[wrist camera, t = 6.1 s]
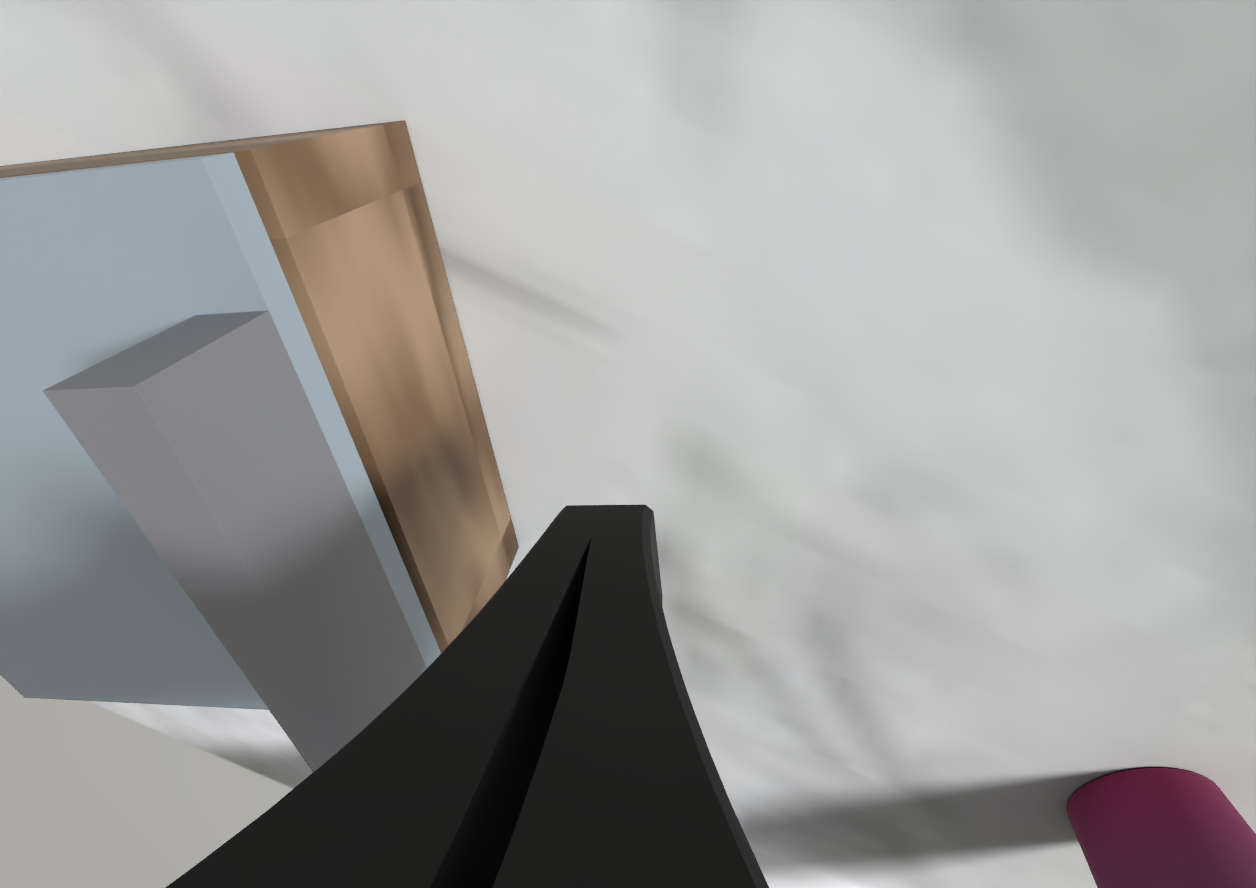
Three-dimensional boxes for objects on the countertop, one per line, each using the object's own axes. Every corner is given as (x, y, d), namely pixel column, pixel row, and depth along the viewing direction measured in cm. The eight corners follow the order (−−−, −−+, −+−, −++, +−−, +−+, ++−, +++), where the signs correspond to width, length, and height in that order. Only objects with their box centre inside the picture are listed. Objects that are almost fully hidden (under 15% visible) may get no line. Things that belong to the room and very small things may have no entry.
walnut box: (518, 546, 19) (464, 685, 15) (189, 545, 21) (57, 668, 16) (405, 120, 12) (250, 149, 8) (-59, 173, 14) (-380, 218, 10)
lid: (458, 695, 14) (405, 830, 12) (45, 677, 16) (-76, 790, 14) (233, 153, 8) (15, 193, 5) (-410, 223, 10) (-797, 278, 7)
